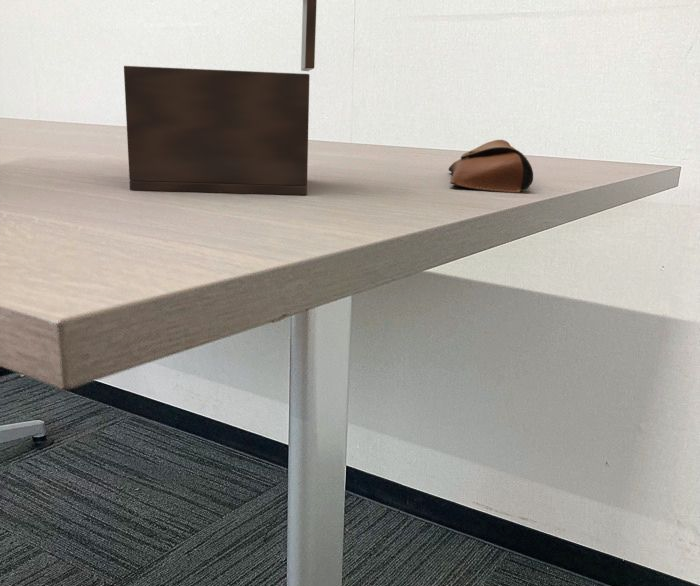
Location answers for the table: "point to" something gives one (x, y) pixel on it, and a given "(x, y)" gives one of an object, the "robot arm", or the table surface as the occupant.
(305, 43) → the lid
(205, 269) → the table surface
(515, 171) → the sunglasses case
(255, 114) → the chest
